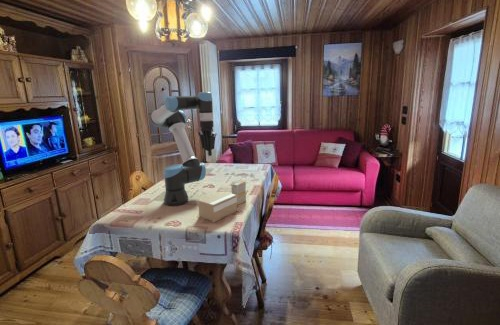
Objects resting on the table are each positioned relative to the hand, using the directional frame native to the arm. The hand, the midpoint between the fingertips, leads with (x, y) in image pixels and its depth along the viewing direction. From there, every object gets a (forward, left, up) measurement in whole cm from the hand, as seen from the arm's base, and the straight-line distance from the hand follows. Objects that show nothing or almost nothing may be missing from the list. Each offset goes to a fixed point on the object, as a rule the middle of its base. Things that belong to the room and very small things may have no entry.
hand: (208, 160), depth 164 cm
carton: (+12, -6, -28) cm, 31 cm away
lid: (+12, -6, -19) cm, 23 cm away
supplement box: (+10, +14, -29) cm, 33 cm away
